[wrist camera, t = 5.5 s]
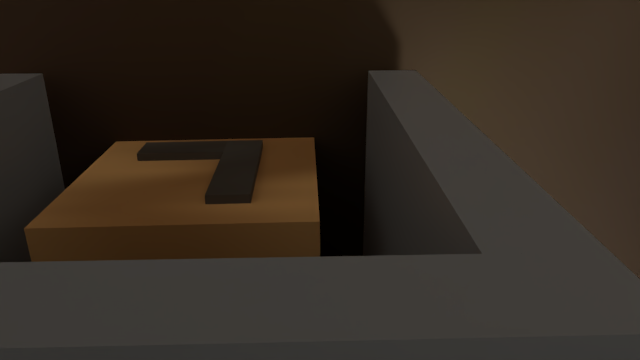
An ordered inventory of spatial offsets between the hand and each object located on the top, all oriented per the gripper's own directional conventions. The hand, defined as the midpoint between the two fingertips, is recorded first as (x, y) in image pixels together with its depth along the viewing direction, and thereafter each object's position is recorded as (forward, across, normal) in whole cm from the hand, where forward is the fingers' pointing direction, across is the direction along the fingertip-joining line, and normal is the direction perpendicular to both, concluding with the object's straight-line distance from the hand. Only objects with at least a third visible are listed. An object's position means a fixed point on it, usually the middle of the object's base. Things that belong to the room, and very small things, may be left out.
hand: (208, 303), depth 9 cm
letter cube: (+2, 0, 0) cm, 2 cm away
